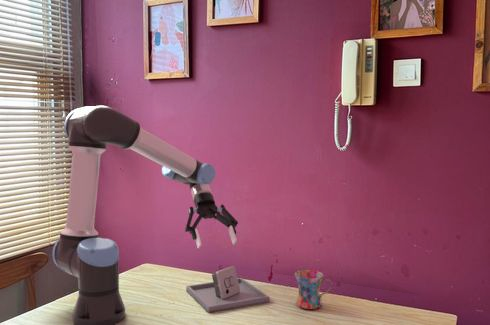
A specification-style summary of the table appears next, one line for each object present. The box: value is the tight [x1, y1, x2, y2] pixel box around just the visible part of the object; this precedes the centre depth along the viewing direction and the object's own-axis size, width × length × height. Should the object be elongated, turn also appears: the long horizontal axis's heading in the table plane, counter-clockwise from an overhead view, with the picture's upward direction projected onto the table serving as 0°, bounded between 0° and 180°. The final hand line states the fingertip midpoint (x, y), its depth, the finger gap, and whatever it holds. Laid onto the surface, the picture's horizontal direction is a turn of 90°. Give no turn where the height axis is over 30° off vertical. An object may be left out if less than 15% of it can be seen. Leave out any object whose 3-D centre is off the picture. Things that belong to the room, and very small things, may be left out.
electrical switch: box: [211, 265, 240, 299], centre depth 155 cm, size 9×5×9 cm, turn 141°
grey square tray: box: [185, 277, 270, 314], centre depth 155 cm, size 22×22×2 cm
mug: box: [294, 269, 333, 310], centre depth 147 cm, size 12×9×11 cm
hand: (217, 244), depth 161 cm, fingers open, 13 cm apart
